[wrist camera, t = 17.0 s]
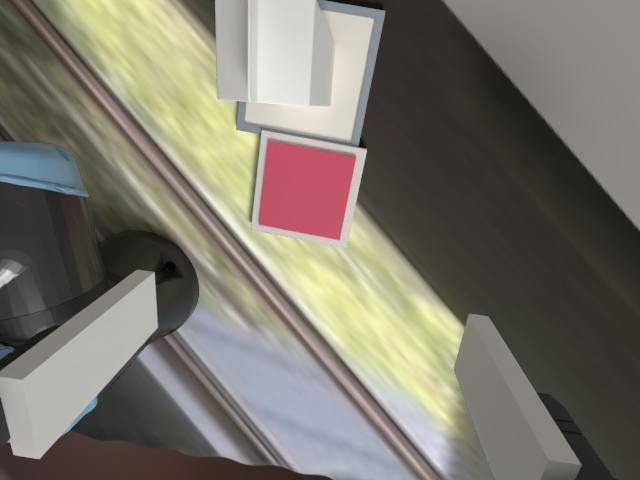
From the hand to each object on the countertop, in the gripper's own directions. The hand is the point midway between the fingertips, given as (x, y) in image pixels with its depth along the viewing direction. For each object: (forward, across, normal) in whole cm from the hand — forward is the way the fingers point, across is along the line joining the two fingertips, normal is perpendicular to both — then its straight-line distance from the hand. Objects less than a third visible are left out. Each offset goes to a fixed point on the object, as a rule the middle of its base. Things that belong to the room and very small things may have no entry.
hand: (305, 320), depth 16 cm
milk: (+30, -5, +11) cm, 32 cm away
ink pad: (+30, -4, -1) cm, 31 cm away
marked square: (+30, -5, +11) cm, 33 cm away
